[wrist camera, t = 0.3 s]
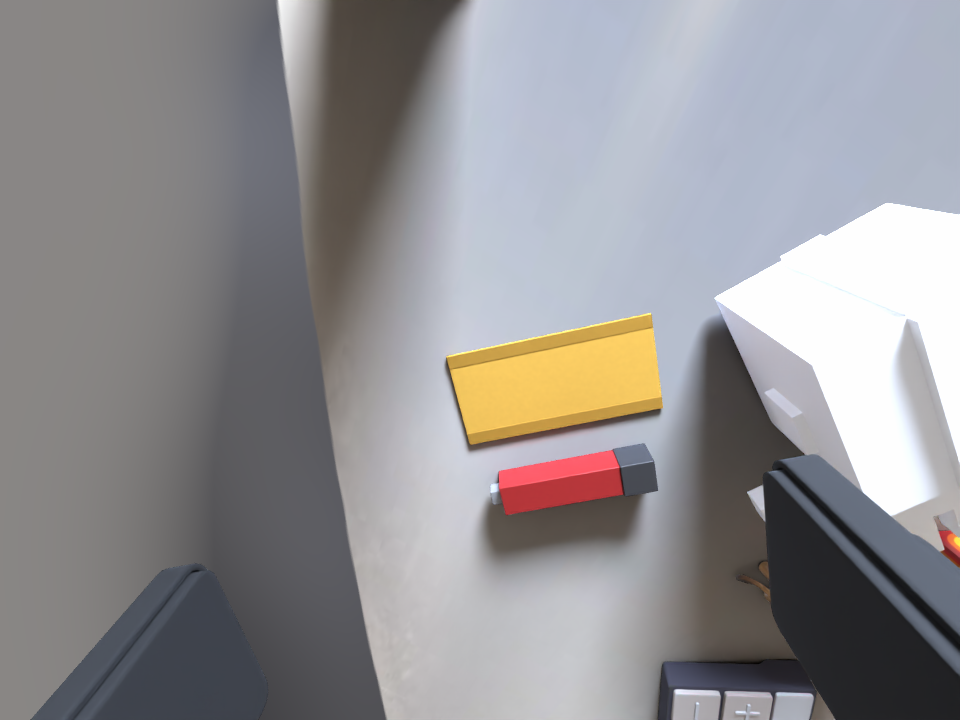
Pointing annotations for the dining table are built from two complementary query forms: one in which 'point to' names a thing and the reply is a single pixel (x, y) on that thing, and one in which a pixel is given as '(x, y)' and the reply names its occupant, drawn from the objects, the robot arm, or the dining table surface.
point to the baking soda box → (951, 546)
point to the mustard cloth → (558, 379)
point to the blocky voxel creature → (865, 358)
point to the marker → (576, 480)
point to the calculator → (736, 691)
